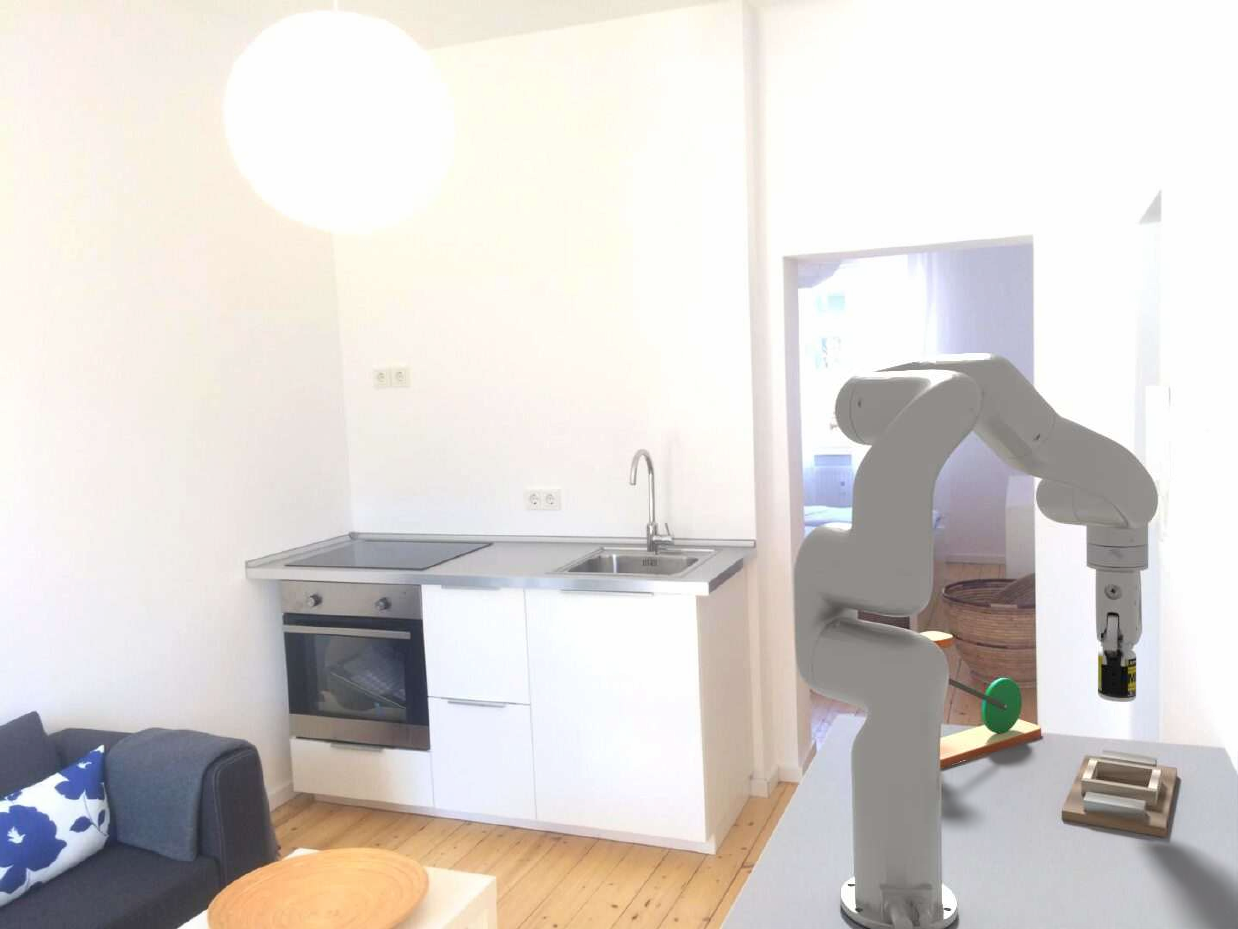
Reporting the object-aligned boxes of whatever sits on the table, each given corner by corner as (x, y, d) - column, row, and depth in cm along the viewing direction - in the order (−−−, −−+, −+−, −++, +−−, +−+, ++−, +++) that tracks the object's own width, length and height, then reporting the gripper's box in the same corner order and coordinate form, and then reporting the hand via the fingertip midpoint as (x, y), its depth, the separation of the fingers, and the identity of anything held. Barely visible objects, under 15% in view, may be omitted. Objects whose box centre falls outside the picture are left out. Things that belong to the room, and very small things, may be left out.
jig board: (1164, 837, 129) (1164, 812, 129) (1061, 819, 136) (1061, 795, 135) (1177, 776, 148) (1177, 754, 148) (1085, 762, 154) (1085, 741, 154)
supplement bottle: (1134, 704, 137) (1134, 642, 137) (1095, 700, 140) (1095, 639, 139) (1137, 694, 142) (1138, 634, 141) (1100, 690, 144) (1100, 631, 143)
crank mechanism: (935, 771, 154) (932, 644, 152) (902, 758, 159) (899, 635, 158) (1045, 735, 166) (1044, 617, 164) (1011, 724, 172) (1010, 610, 170)
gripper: (1142, 569, 130) (1142, 710, 131) (1153, 547, 144) (1152, 675, 146) (1077, 565, 134) (1078, 703, 135) (1094, 544, 148) (1094, 669, 150)
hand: (1117, 687), depth 141 cm, fingers closed on supplement bottle, 4 cm apart
